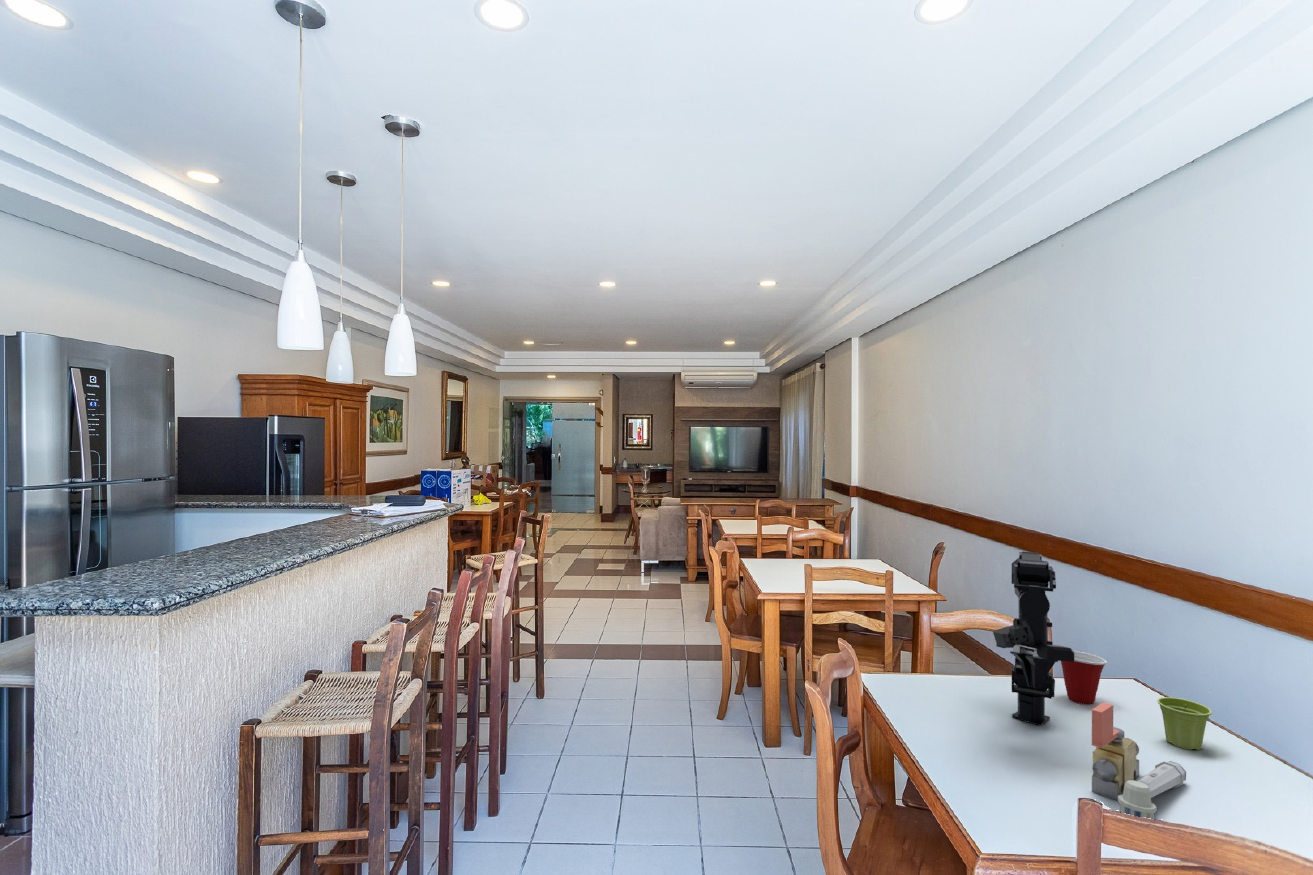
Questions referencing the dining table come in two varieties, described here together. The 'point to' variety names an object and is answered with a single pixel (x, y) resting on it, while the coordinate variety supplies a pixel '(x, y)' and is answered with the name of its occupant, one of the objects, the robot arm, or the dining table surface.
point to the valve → (1114, 767)
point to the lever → (1104, 726)
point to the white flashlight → (1150, 789)
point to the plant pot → (1184, 722)
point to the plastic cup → (1082, 677)
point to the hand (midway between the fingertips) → (1033, 687)
